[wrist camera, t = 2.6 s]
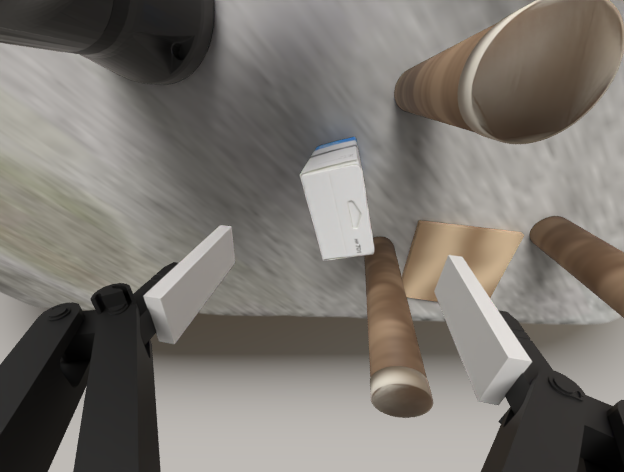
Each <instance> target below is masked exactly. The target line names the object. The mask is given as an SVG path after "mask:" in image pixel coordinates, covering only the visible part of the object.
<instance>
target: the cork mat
mask: <svg viewBox="0 0 624 472" xmlns="http://www.w3.org/2000/svg"><path fill="white" fill-rule="evenodd" d="M523 237H524V235H523V234H522V233H521V232H515V231H507V230H498V229H490V228H481V227H473V226H464V225H455V224H447V223H438V222H430V221H421V220H419V221H418V224H417V227H416V231H415V234H414V237H413V241H412V244H411V247H410V251H409V254H408V258H407V261H406V264H405V268H404V271H403V274H402V281H403V285H404V289H405V293H406V297H409V298H416V299H422V300H429V301H436V302H438V300H437V297H436V295H435V292H434V291H435V288H436V285H437V283H438V280H439V278H440V275H441V273H442V270H443V267H444V265H445V262H446V260H447V257H448V255H453V256H461V257H463V258H464V260H465V261H466V263H467V265H468V266H469V268H470V269H471V271H472V272H473V274H474V275H475V277H476V278H477V280H478V281H479V283H480V284H481V286H482V287H483V289H484V290H485V292H486V293H487V295H488V296H489V298H490V297H491V295H492V294H493V292H494V290H495V288H496V286H497V284H498V283H499V281H500V279H501V277H502V275H503V273H504V272H505V270H506V268H507V266H508V264H509V262H510V261H511V259H512V257H513V255H514V253H515V251H516V250H517V248H518V246H519V244H520V242H521V241H522V239H523Z"/></svg>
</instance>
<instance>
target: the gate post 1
mask: <svg viewBox="0 0 624 472" xmlns="http://www.w3.org/2000/svg"><path fill="white" fill-rule="evenodd" d="M373 243H374V253H373V254H371V255H364V256H365V276H366V296H367V316H368V336H369V355H370V376H371V379H370V390H371V402H372V404H373V405H374V406H375V408H377V409H378V410H379V411H381V412H383V413H385V414H387V415H390V416H395V417H403V418H409V417H416V416H420V415H423V414H425V413H427V412H428V411H429V410H430V409H431V408H432V406H433V399H432V394H431V390H430V386H429V382H428V380H427V378H426V373H425V370H424V365H423V361H422V357H421V354H420V349H419V345H418V342H417V337H416V333H415V329H414V325H413V321H412V317H411V313H410V309H409V305H408V301H407V297H406V293H405V289H404V285H403V281H402V277H401V273H400V269H399V265H398V261H397V257H396V253H395V249H394V245H393V243H392V242H391V241H390V240H389V239H388V238H385V237H374V238H373Z"/></svg>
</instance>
